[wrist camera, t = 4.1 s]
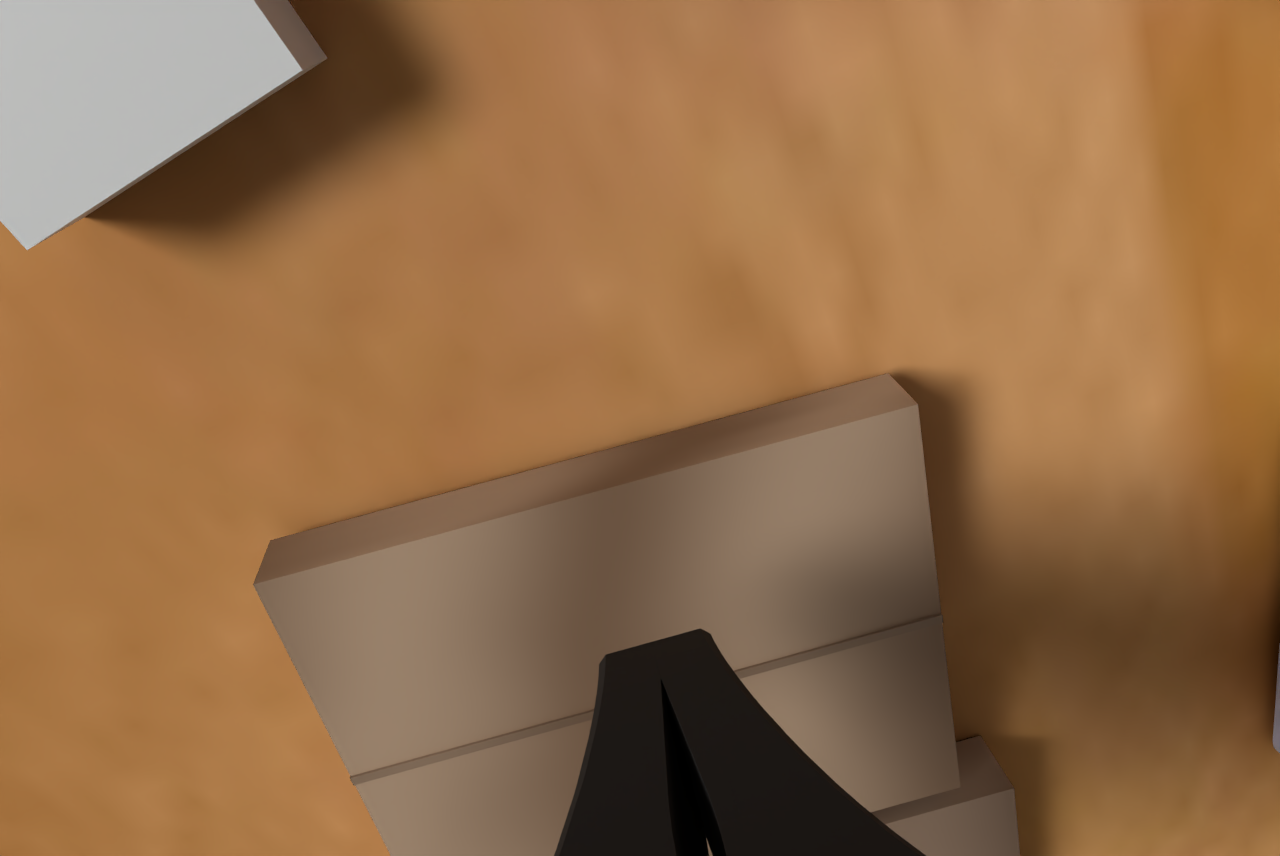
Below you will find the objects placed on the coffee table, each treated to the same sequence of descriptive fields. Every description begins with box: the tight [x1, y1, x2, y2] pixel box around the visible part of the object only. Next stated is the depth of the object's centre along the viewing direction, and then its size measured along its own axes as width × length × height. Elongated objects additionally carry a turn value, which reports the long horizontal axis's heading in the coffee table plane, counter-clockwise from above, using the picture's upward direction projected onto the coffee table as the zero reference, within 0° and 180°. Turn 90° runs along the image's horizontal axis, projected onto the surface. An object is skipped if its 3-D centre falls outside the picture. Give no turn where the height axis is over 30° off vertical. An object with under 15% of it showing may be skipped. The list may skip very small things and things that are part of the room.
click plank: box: [253, 374, 960, 856], centre depth 16 cm, size 10×8×1 cm
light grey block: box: [0, 0, 327, 250], centre depth 12 cm, size 4×2×2 cm, turn 120°
